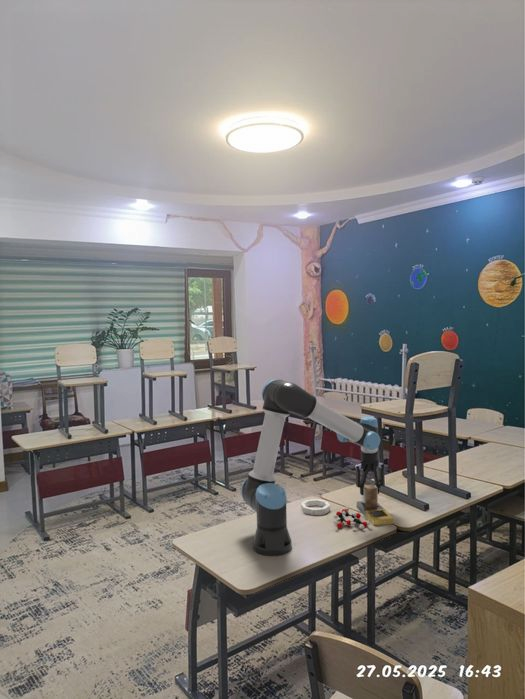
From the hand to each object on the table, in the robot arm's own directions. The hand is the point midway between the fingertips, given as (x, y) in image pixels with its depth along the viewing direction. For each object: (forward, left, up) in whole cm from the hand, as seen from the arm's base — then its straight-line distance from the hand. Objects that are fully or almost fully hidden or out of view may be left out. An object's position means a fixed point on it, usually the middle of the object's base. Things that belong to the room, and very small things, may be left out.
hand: (369, 501), depth 224 cm
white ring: (-24, +7, -4) cm, 25 cm away
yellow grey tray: (0, -5, -4) cm, 7 cm away
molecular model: (-13, -12, -5) cm, 19 cm away
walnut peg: (0, 0, -4) cm, 4 cm away
